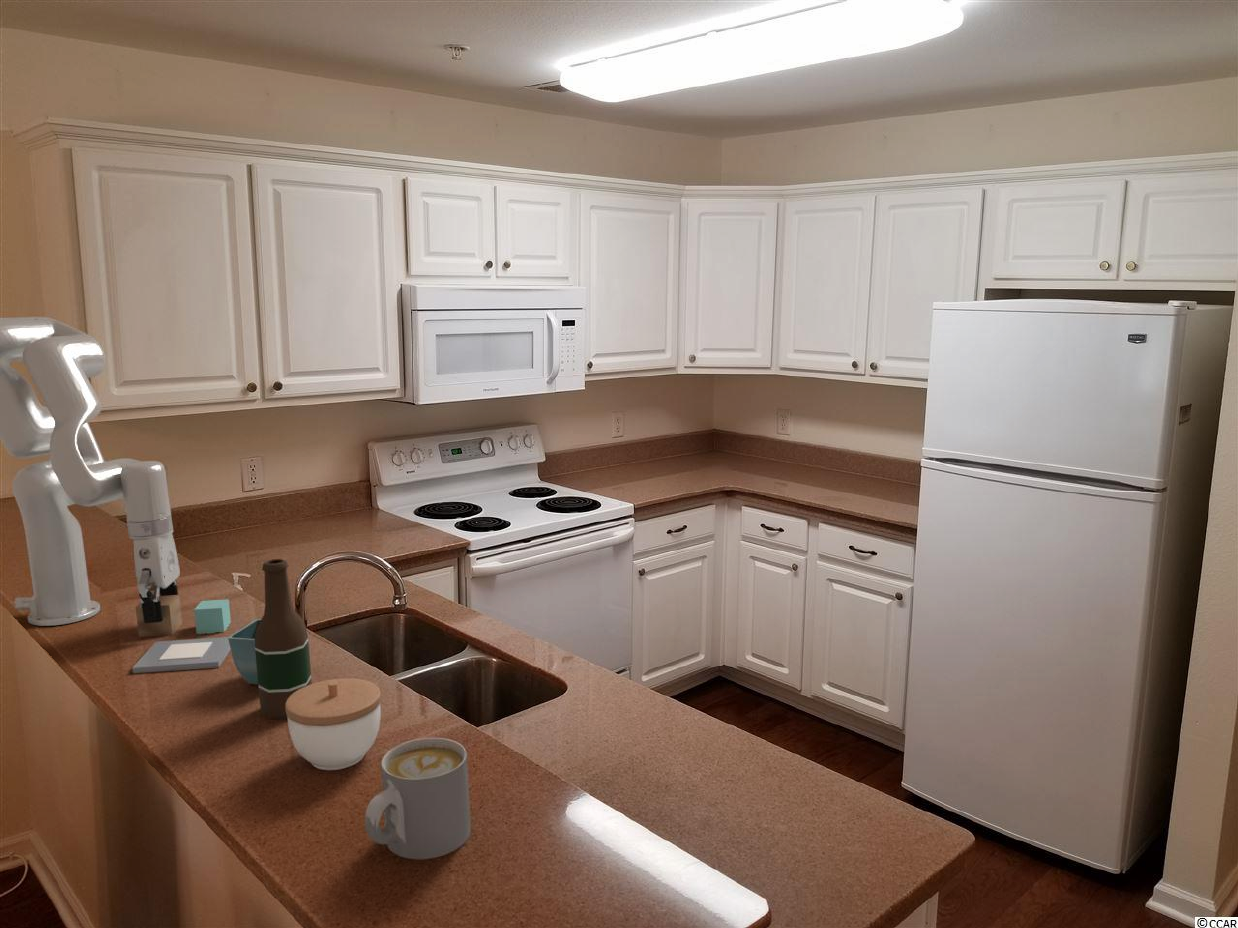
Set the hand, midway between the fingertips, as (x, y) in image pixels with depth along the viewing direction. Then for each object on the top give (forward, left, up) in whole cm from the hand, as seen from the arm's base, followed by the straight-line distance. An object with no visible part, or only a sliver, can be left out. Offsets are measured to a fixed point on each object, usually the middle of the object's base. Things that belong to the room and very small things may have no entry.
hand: (162, 613), depth 178 cm
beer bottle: (+30, -40, -4) cm, 50 cm away
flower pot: (+25, -28, -4) cm, 38 cm away
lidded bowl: (+40, -57, -4) cm, 70 cm away
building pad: (+8, -15, -3) cm, 17 cm away
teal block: (+9, -1, -4) cm, 10 cm away
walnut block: (-1, 0, -4) cm, 4 cm away
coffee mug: (+52, -79, -4) cm, 94 cm away
